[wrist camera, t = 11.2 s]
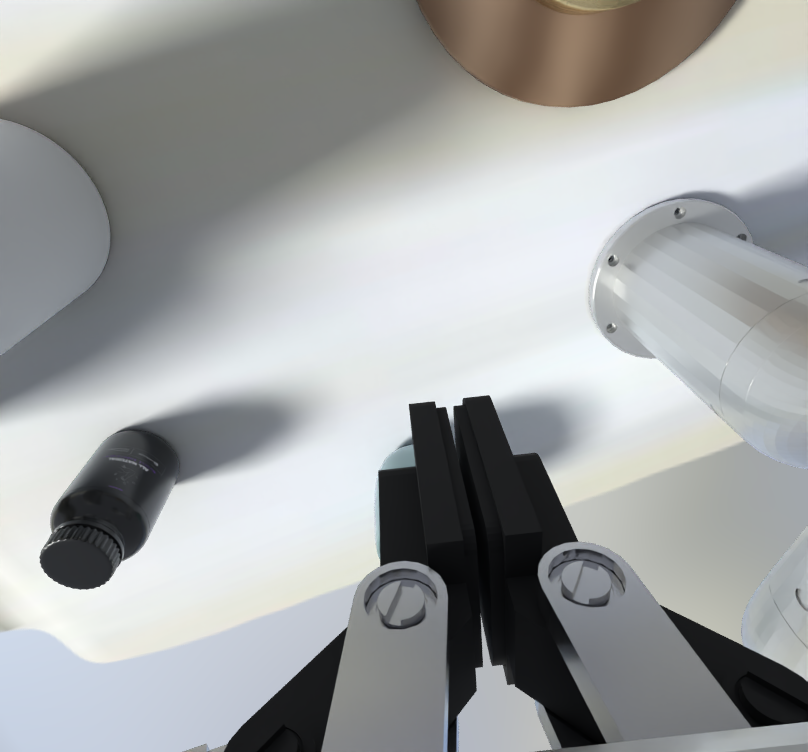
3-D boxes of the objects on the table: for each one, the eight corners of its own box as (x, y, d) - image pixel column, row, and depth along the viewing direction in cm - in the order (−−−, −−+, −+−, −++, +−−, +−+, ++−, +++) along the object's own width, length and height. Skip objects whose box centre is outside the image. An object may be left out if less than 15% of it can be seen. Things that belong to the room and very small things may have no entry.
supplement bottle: (162, 419, 47) (105, 518, 36) (192, 483, 50) (147, 591, 39) (83, 435, 47) (2, 538, 36) (118, 497, 50) (53, 609, 40)
